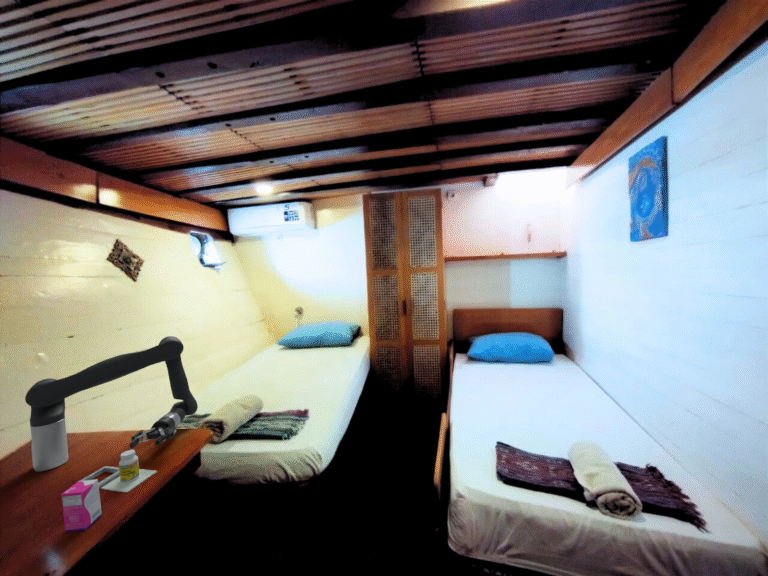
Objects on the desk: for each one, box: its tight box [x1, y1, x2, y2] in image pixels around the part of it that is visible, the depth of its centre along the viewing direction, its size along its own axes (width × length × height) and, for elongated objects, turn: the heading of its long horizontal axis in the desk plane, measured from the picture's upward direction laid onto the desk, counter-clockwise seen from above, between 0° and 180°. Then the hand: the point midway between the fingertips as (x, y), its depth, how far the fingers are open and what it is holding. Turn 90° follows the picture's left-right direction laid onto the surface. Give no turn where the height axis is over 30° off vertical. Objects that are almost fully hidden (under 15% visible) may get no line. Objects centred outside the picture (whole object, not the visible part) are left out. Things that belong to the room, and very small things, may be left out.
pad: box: [100, 468, 158, 494], centre depth 112 cm, size 11×11×1 cm
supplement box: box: [60, 478, 103, 533], centre depth 92 cm, size 6×6×12 cm
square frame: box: [79, 465, 120, 489], centre depth 113 cm, size 9×9×2 cm
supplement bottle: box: [118, 449, 140, 483], centre depth 111 cm, size 5×5×10 cm
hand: (143, 444), depth 120 cm, fingers open, 8 cm apart
